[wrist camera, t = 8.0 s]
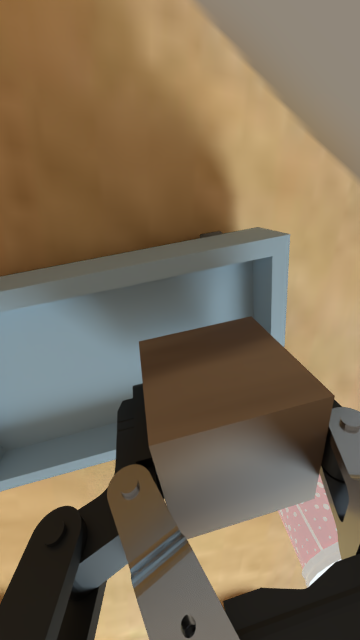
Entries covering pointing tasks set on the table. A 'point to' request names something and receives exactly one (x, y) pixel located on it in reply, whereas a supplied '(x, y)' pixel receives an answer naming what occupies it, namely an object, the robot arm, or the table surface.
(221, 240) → the light blue tray
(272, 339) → the walnut block
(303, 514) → the beverage cup
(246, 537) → the table surface
